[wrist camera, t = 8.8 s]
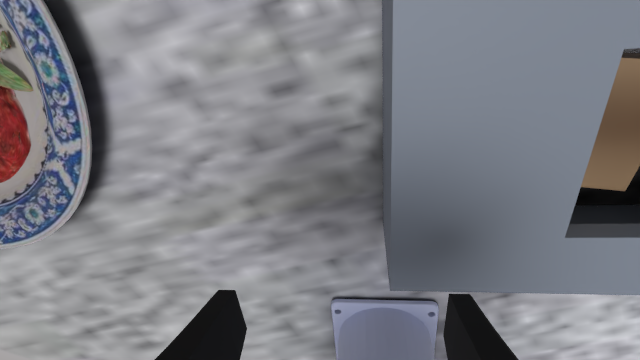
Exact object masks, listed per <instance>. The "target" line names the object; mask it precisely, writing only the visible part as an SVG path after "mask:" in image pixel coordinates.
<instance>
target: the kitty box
mask: <svg viewBox="0 0 640 360" xmlns="http://www.w3.org/2000/svg"><path fill="white" fill-rule="evenodd" d="M382 39H383V226H384V236H385V246H386V255H387V265H388V275H389V285H390V291H443V292H497V293H550V294H604V295H640V205H592V206H575V204H576V200H577V197H578V194H579V191H580V188H581V184H582V181H583V178H584V175H585V172H586V169H587V165H588V162H589V159H590V156H591V153H592V149H593V146H594V143H595V140H596V137H597V134H598V130H599V127H600V124H601V121H602V118H603V115H604V111H605V108H606V105H607V102H608V99H609V95H610V92H611V89H612V86H613V83H614V80H615V76H616V73H617V70H618V67H619V64H620V60H621V57H622V54H623V51H624V49H634V48H640V0H382Z"/></svg>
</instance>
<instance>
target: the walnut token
mask: <svg viewBox="0 0 640 360" xmlns="http://www.w3.org/2000/svg"><path fill="white" fill-rule="evenodd" d="M639 166H640V54H636V53H623V54H622V57H621V60H620V64H619V67H618V70H617V73H616V76H615V80H614V83H613V86H612V89H611V92H610V95H609V99H608V102H607V105H606V108H605V111H604V115H603V118H602V121H601V124H600V127H599V130H598V134H597V137H596V140H595V143H594V146H593V149H592V153H591V156H590V159H589V162H588V165H587V169H586V172H585V175H584V178H583V181H582V184H581V187H586V188H597V189H608V190H618V191H626V189H627V187H628V185H629V184H630V182H631V180H632V178H633V177H634V175H635V173H636V171H637V170H638V168H639Z"/></svg>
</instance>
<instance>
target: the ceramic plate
mask: <svg viewBox="0 0 640 360" xmlns="http://www.w3.org/2000/svg"><path fill="white" fill-rule="evenodd" d="M91 161H92V139H91V127H90V121H89V115H88V109H87V104H86V101H85V97H84V93H83V89H82V85H81V82H80V79H79V76H78V74H77V71H76V68H75V65H74V62H73V60H72V57H71V55H70V53H69V50H68V48H67V46H66V43H65V41H64V39H63V36H62V34H61V32H60V30H59V28H58V26H57V24H56V23H55V21H54V19H53V17H52V15H51V13H50V11H49V9H48V7H47V5H46V4H45V2H44V0H0V249H8V248H17V247H21V246H25V245H29V244H32V243H35V242H38V241H40V240H42V239H44V238H46V237H48V236H50V235H51V234H53V233H54V232H55V231H57V230H58V229H59V228H60V227H61V226H62V225H63V224H64V223H65V222H66V221H67V220H68V219H69V218H70V217H71V216H72V215H73V213H74V212H75V211H76V209H77V208H78V206H79V204H80V202H81V200H82V198H83V196H84V194H85V191H86V187H87V184H88V181H89V176H90V170H91Z"/></svg>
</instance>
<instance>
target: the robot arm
mask: <svg viewBox="0 0 640 360" xmlns="http://www.w3.org/2000/svg"><path fill="white" fill-rule="evenodd" d="M337 309H338V310H337ZM331 311H332V320H333V330H334V339H335V348H336V358H337V360H435V356H434V350H435V341H436V331H437V322H438V313H439V307H438V304H437V303H436V302H434V301H405V300H361V299H334V300H333V301H332V303H331ZM430 312H431V313H430ZM246 330H247V327H246V324H245V321H244V318H243V314H242V311H241V308H240V304H239V301H238V298H237V295H236V291H235V290H218V291H217V292H216V293H215V295H214V296H213V297H212V298H211V299H210V300H209V301H208V302H207V304H206V305H205V306H204V307H203V308H202V309H201V310H200V312H199V313H198V314H197V315H196V316H195V317H194V318H193V319H192V321H191V322H190V323H189V324H188V325H187V326H186V327H185V328H184V329H183V330H182V332H181V333H180V334H179V335H178V336H177V337H176V338H175V339H174V340H173V341H172V342H171V343H170V345H169V346H168V347H167V348H166V349H165V350H164V351H163V352H162V353H161V354H160V355H159V356H158V357H157V358H156V359H155V360H240V356H241V352H242V348H243V344H244V340H245V335H246ZM444 341H445V347H446V352H447V357H448V360H518V358H517V357H516V356H515V355H514V353H513V352H512V351H511V350H510V348H509V347H508V346H507V345H506V343H505V342H504V341H503V339H502V338H501V337H500V335H499V334H498V333H497V331H496V330H495V329H494V327H493V326H492V325H491V323H490V322H489V321H488V319H487V318H486V316H485V315H484V313H483V312H482V311H481V309H480V308H479V306H478V305H477V303H476V302H475V300H474V299H473V297H472V296H471V295H469V294H449V298H448V306H447V313H446V320H445V328H444Z"/></svg>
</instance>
